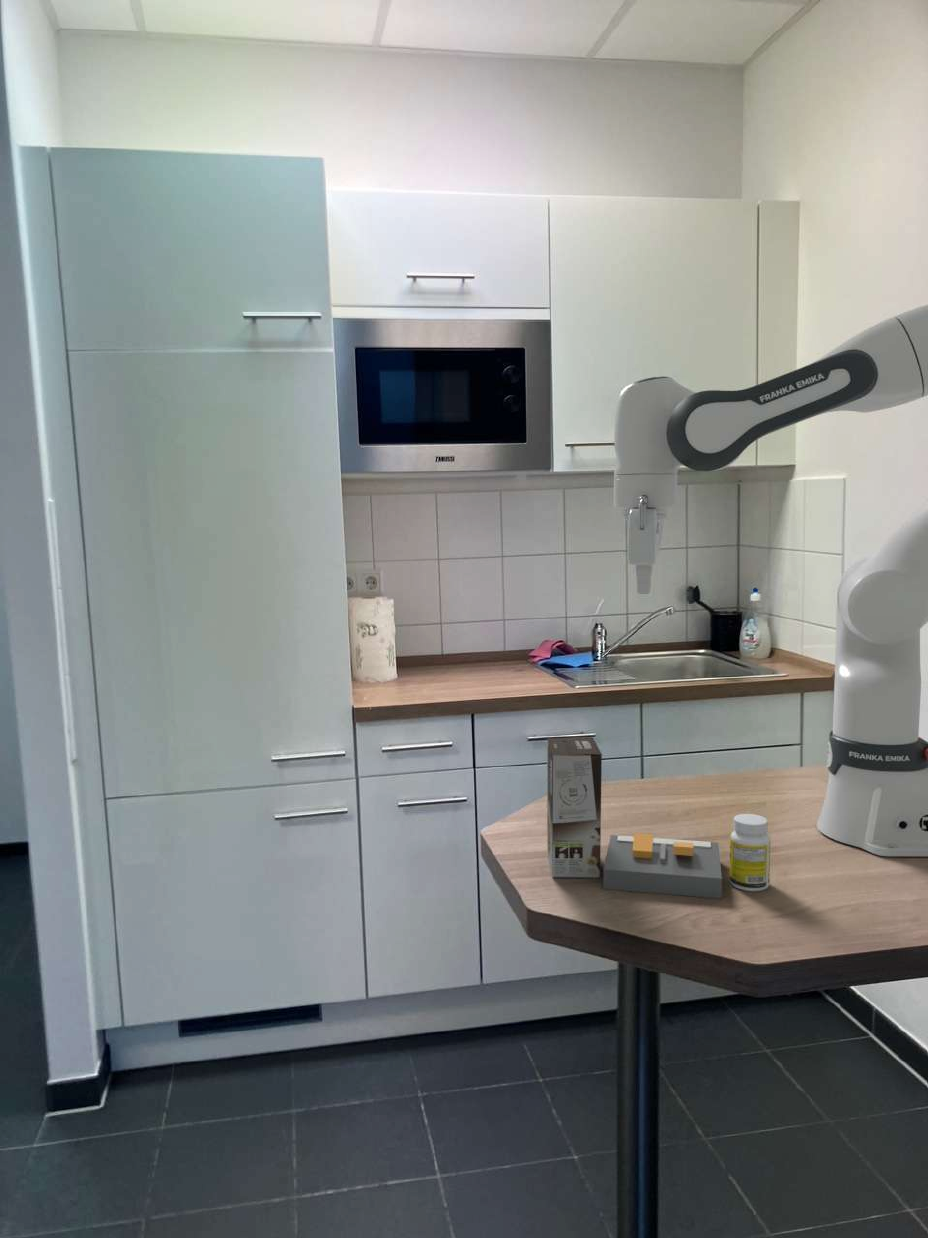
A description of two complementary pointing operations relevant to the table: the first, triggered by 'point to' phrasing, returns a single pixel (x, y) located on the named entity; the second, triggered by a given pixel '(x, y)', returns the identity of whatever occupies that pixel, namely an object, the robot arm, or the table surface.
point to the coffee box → (574, 806)
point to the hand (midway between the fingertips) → (643, 593)
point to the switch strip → (664, 868)
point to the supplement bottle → (750, 853)
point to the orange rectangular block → (683, 848)
